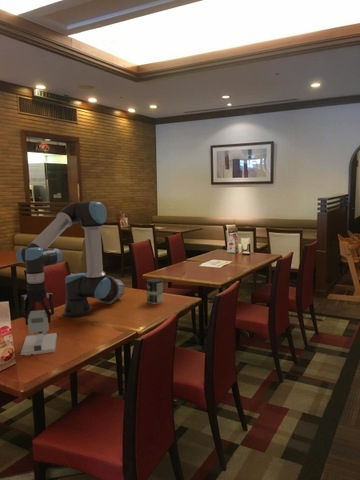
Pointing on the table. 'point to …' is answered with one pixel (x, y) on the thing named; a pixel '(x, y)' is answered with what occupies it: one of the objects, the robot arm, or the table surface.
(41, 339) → the mounting plate
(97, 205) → the robot arm
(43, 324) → the block
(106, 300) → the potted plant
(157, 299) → the coffee can
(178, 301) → the table surface
